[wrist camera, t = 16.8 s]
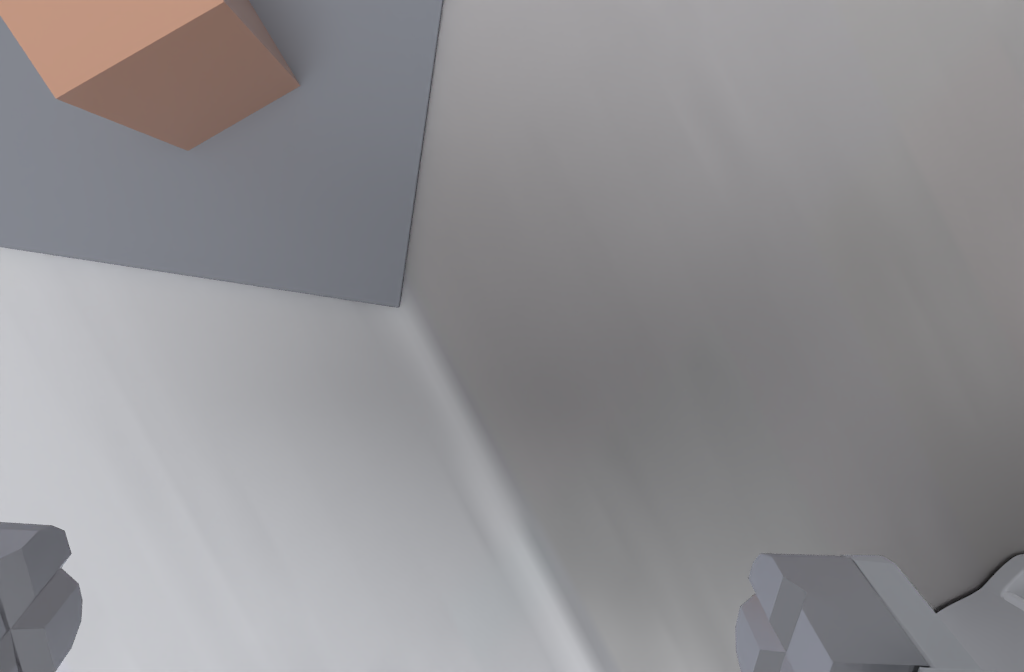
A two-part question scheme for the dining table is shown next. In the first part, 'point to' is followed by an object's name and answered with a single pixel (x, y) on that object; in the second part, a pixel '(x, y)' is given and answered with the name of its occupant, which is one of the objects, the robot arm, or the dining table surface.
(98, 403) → the dining table surface
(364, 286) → the slate mat
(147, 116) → the tall peach block
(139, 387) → the dining table surface
